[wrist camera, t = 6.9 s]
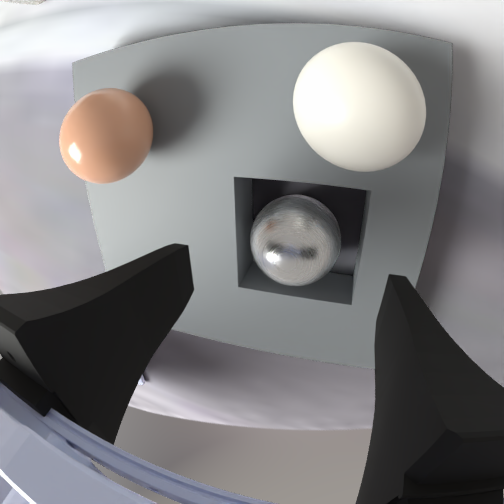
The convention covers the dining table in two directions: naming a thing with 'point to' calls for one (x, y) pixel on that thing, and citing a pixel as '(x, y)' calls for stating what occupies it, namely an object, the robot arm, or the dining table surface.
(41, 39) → the dining table surface
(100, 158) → the terracotta ball
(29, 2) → the decorative stone
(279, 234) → the steel ball
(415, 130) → the cream ball
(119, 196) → the hole plate
